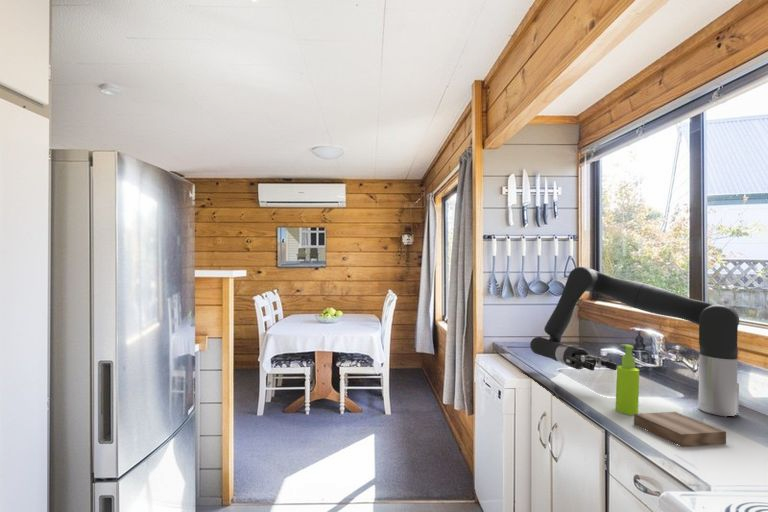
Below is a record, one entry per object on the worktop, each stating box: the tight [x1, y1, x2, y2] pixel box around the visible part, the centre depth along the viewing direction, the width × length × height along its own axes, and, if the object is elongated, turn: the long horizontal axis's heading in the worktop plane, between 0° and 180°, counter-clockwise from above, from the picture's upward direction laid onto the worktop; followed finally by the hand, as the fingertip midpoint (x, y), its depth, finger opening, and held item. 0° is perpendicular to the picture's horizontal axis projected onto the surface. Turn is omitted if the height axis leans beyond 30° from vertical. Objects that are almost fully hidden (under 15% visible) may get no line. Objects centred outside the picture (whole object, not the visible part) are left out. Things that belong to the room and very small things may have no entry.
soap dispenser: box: [615, 343, 640, 416], centre depth 126 cm, size 6×7×20 cm
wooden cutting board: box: [633, 411, 727, 447], centre depth 109 cm, size 14×14×3 cm
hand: (604, 367), depth 134 cm, fingers open, 8 cm apart
